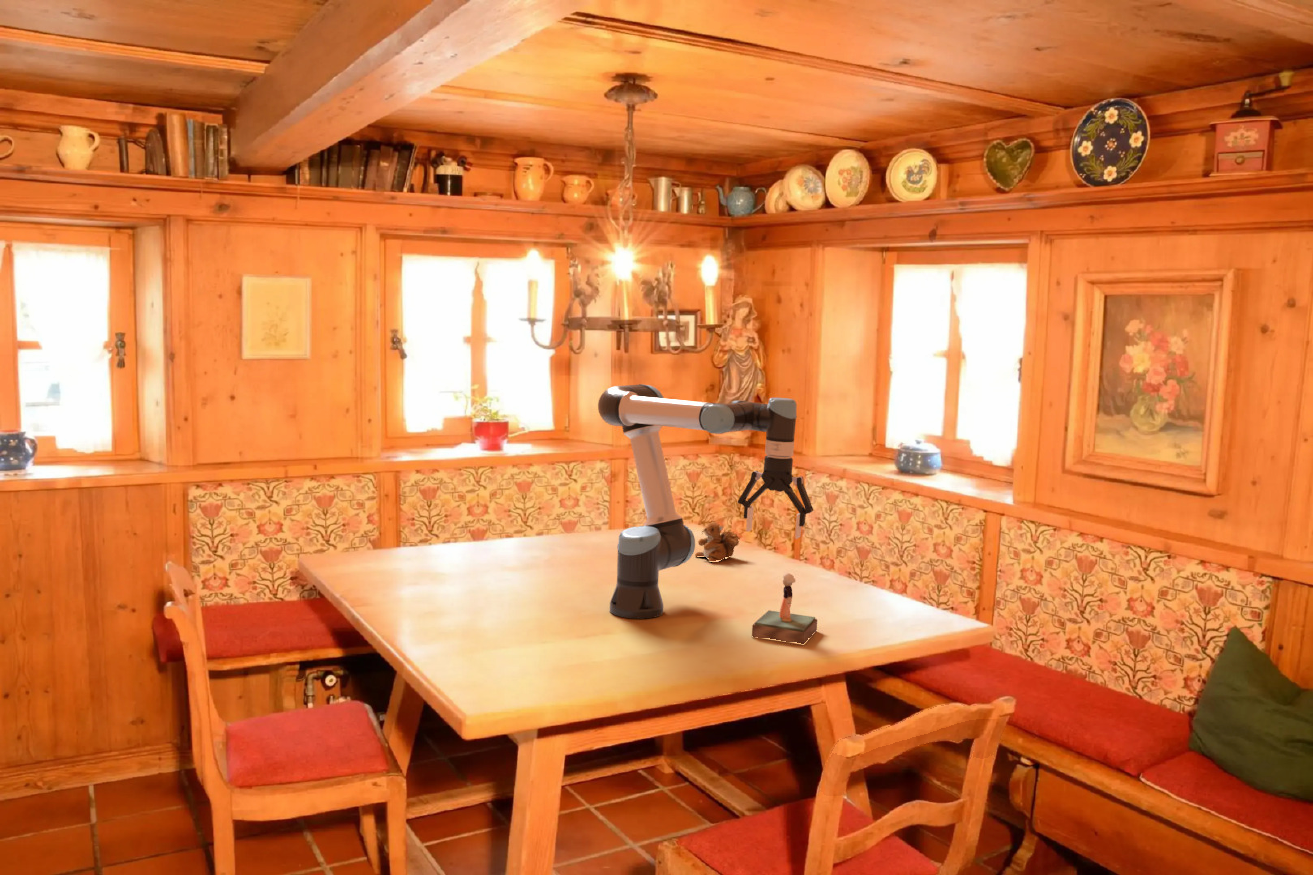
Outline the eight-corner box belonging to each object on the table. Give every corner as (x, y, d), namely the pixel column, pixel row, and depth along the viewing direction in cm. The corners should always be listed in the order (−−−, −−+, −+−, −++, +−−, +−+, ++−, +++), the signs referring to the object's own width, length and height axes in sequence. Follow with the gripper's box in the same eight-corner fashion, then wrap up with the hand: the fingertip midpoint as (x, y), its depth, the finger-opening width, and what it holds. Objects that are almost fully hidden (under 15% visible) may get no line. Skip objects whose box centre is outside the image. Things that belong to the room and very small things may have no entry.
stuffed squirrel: (692, 557, 365) (694, 520, 363) (728, 554, 370) (730, 518, 369) (705, 563, 356) (707, 525, 354) (742, 561, 361) (743, 523, 360)
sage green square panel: (751, 637, 275) (752, 622, 275) (766, 623, 288) (767, 609, 288) (803, 645, 270) (804, 630, 269) (816, 631, 283) (817, 616, 282)
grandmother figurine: (775, 615, 282) (777, 569, 280) (788, 615, 282) (791, 569, 281) (782, 624, 274) (785, 576, 273) (797, 624, 275) (799, 576, 273)
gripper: (729, 452, 280) (724, 530, 283) (821, 463, 270) (814, 543, 273) (738, 449, 287) (733, 525, 289) (828, 459, 277) (821, 538, 280)
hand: (772, 534), depth 281 cm, fingers open, 13 cm apart
